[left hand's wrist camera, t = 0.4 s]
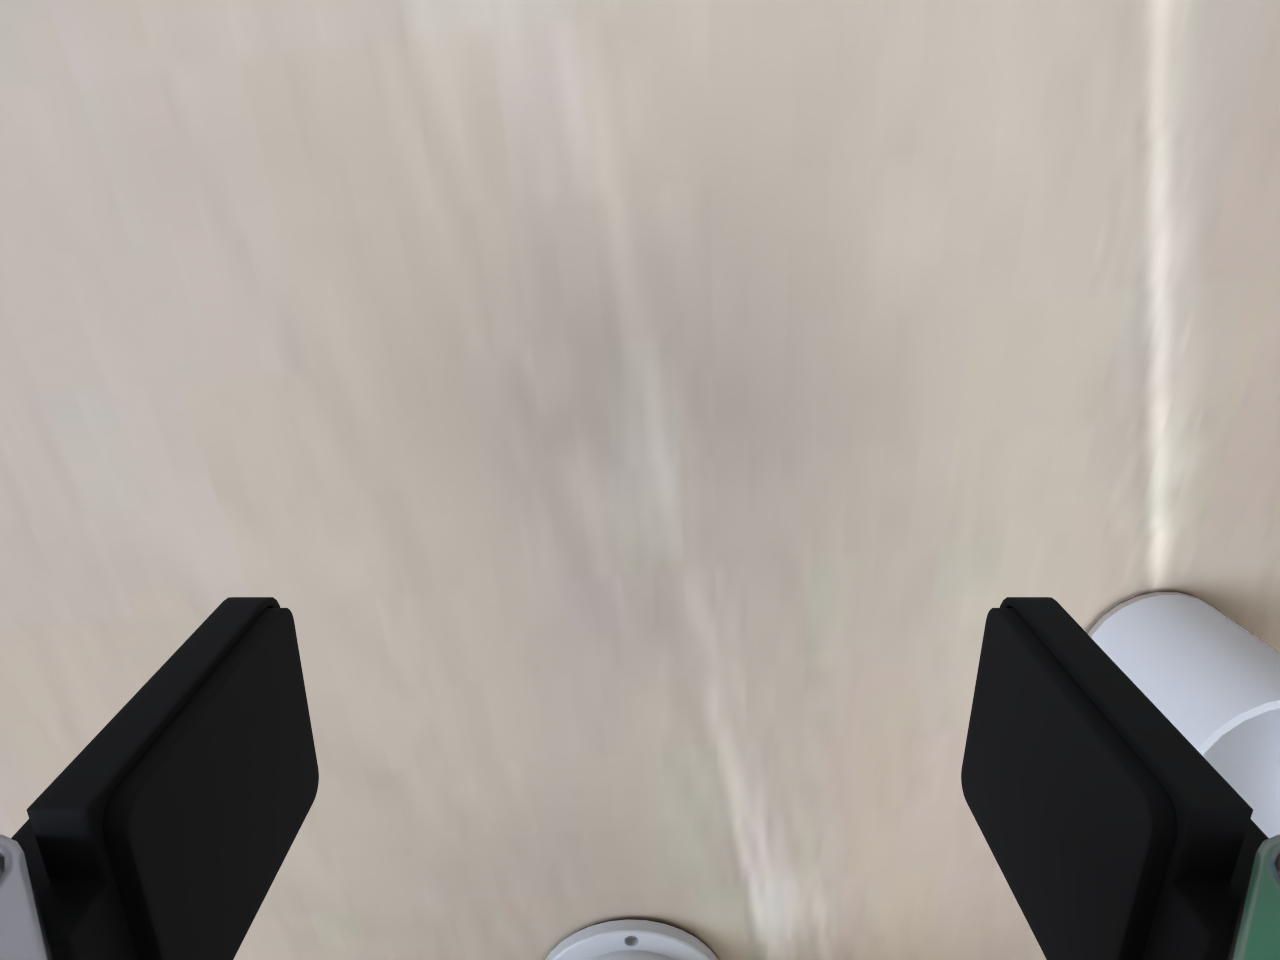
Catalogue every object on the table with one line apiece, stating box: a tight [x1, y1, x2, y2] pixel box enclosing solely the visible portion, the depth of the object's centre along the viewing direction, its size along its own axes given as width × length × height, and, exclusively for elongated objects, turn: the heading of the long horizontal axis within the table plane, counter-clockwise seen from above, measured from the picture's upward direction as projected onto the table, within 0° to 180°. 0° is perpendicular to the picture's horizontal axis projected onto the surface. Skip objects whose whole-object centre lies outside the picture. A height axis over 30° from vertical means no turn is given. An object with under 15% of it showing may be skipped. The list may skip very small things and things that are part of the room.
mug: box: [1088, 592, 1280, 838], centre depth 42 cm, size 11×9×10 cm
